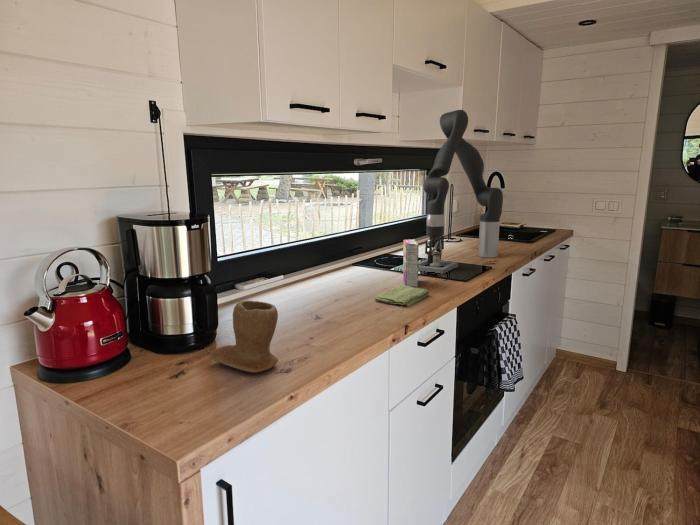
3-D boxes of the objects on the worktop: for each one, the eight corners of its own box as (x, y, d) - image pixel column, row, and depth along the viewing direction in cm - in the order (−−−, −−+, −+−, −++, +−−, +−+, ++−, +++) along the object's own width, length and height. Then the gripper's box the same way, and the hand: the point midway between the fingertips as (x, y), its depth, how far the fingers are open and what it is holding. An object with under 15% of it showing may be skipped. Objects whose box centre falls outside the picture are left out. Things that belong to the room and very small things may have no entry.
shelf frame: (426, 263, 220) (426, 259, 220) (458, 266, 212) (458, 262, 212) (410, 270, 207) (410, 265, 206) (442, 274, 198) (442, 269, 198)
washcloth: (372, 302, 162) (372, 293, 161) (400, 291, 175) (400, 282, 175) (406, 309, 154) (406, 299, 153) (432, 296, 168) (432, 288, 167)
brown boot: (290, 362, 113) (288, 301, 110) (253, 381, 104) (249, 314, 100) (246, 349, 122) (243, 291, 119) (208, 365, 112) (203, 303, 109)
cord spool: (431, 266, 214) (432, 251, 212) (443, 267, 211) (443, 252, 209) (426, 268, 209) (426, 253, 208) (438, 270, 206) (438, 254, 205)
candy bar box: (402, 280, 190) (402, 239, 186) (415, 280, 190) (415, 239, 186) (405, 287, 179) (405, 244, 176) (418, 287, 179) (419, 244, 175)
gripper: (434, 222, 213) (433, 258, 217) (420, 226, 202) (419, 263, 205) (450, 223, 209) (449, 259, 213) (436, 227, 198) (435, 265, 201)
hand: (434, 261), depth 209 cm, fingers open, 8 cm apart
